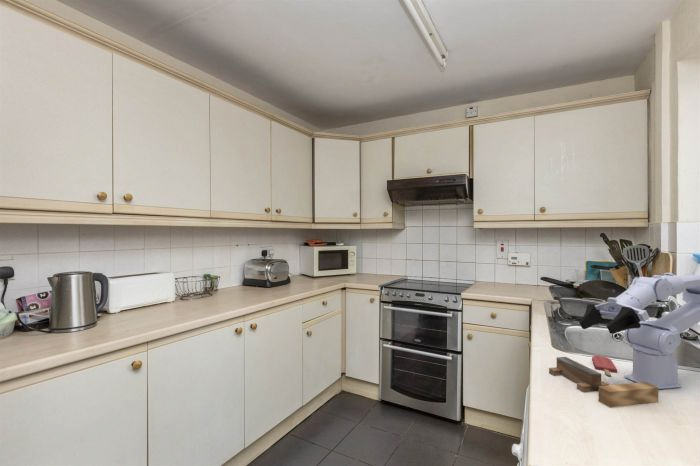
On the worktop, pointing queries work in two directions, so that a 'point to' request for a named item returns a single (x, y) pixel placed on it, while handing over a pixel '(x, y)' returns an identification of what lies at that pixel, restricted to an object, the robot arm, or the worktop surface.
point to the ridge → (578, 374)
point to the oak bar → (628, 394)
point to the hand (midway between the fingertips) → (595, 327)
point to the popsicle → (604, 364)
